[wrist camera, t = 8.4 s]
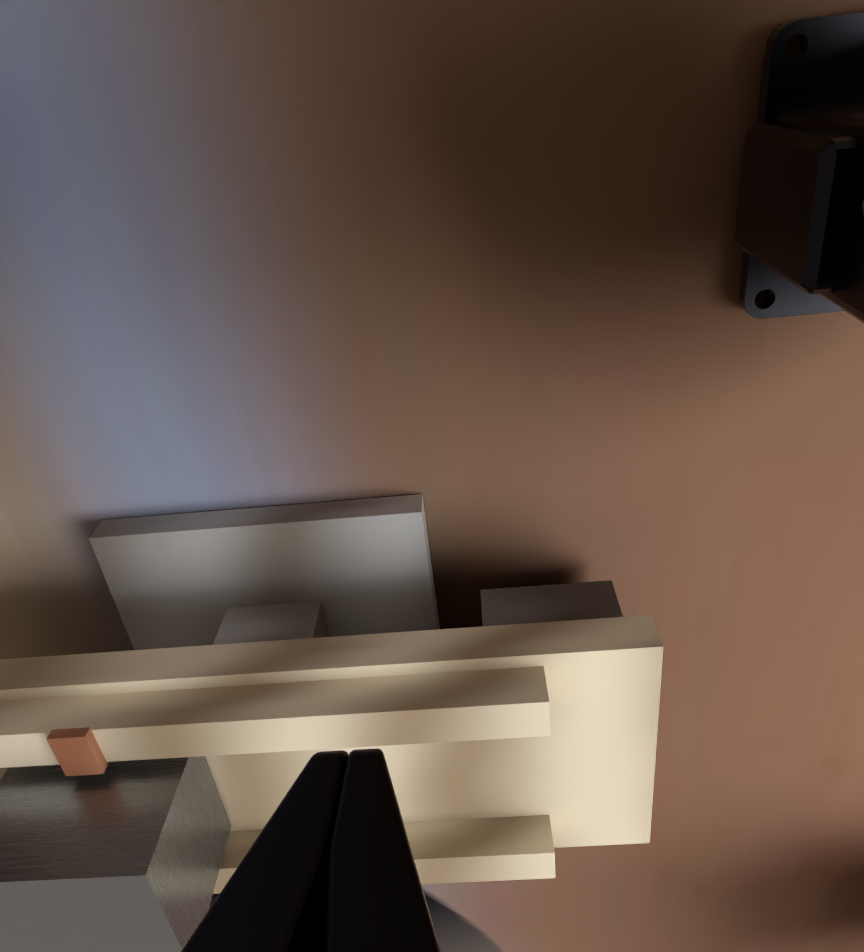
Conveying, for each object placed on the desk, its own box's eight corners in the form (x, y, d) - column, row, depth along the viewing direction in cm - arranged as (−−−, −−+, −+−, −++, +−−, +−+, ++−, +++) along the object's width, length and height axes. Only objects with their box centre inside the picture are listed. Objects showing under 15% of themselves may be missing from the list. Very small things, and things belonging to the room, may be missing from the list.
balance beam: (623, 477, 22) (685, 626, 16) (615, 752, 28) (658, 930, 22) (-82, 534, 23) (-250, 689, 18) (54, 783, 29) (-39, 958, 24)
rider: (196, 734, 20) (145, 875, 17) (231, 825, 22) (192, 968, 19) (22, 744, 21) (-64, 885, 17) (71, 833, 23) (4, 976, 19)
